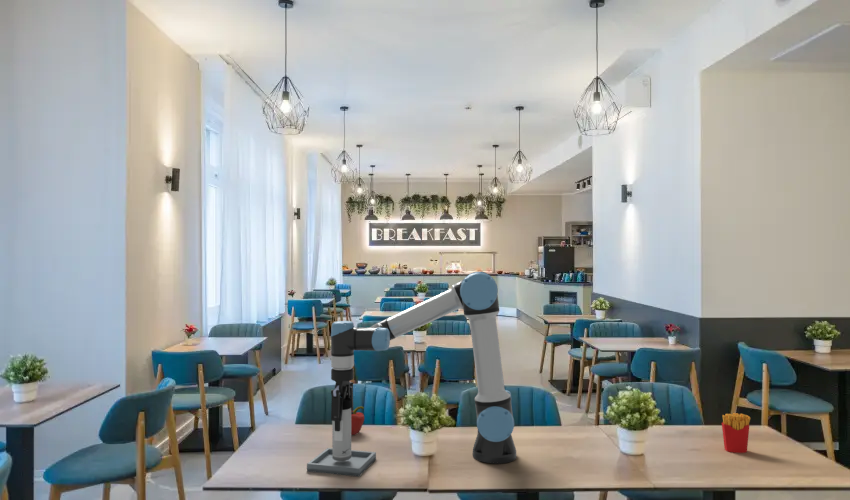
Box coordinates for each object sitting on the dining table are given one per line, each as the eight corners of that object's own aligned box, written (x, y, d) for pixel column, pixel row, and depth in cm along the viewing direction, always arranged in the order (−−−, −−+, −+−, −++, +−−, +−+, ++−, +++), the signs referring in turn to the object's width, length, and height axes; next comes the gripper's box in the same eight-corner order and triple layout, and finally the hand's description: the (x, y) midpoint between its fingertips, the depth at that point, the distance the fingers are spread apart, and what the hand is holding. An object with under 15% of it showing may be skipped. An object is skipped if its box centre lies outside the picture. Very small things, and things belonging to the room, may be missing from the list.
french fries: (725, 452, 203) (725, 415, 204) (720, 448, 208) (720, 412, 208) (752, 453, 203) (752, 416, 203) (746, 449, 207) (746, 412, 207)
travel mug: (348, 461, 188) (348, 400, 188) (329, 460, 189) (329, 399, 190) (354, 455, 194) (354, 396, 194) (336, 454, 195) (336, 395, 196)
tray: (375, 459, 197) (376, 452, 197) (359, 476, 182) (359, 468, 182) (327, 455, 202) (327, 447, 202) (306, 471, 186) (306, 463, 186)
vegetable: (356, 427, 234) (356, 403, 235) (371, 433, 227) (371, 408, 227) (333, 432, 228) (333, 407, 228) (347, 439, 220) (347, 412, 220)
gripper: (343, 362, 202) (343, 428, 202) (319, 372, 184) (320, 445, 183) (363, 363, 200) (363, 429, 200) (341, 373, 182) (341, 447, 182)
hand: (342, 437), depth 192 cm, fingers closed on travel mug, 6 cm apart
